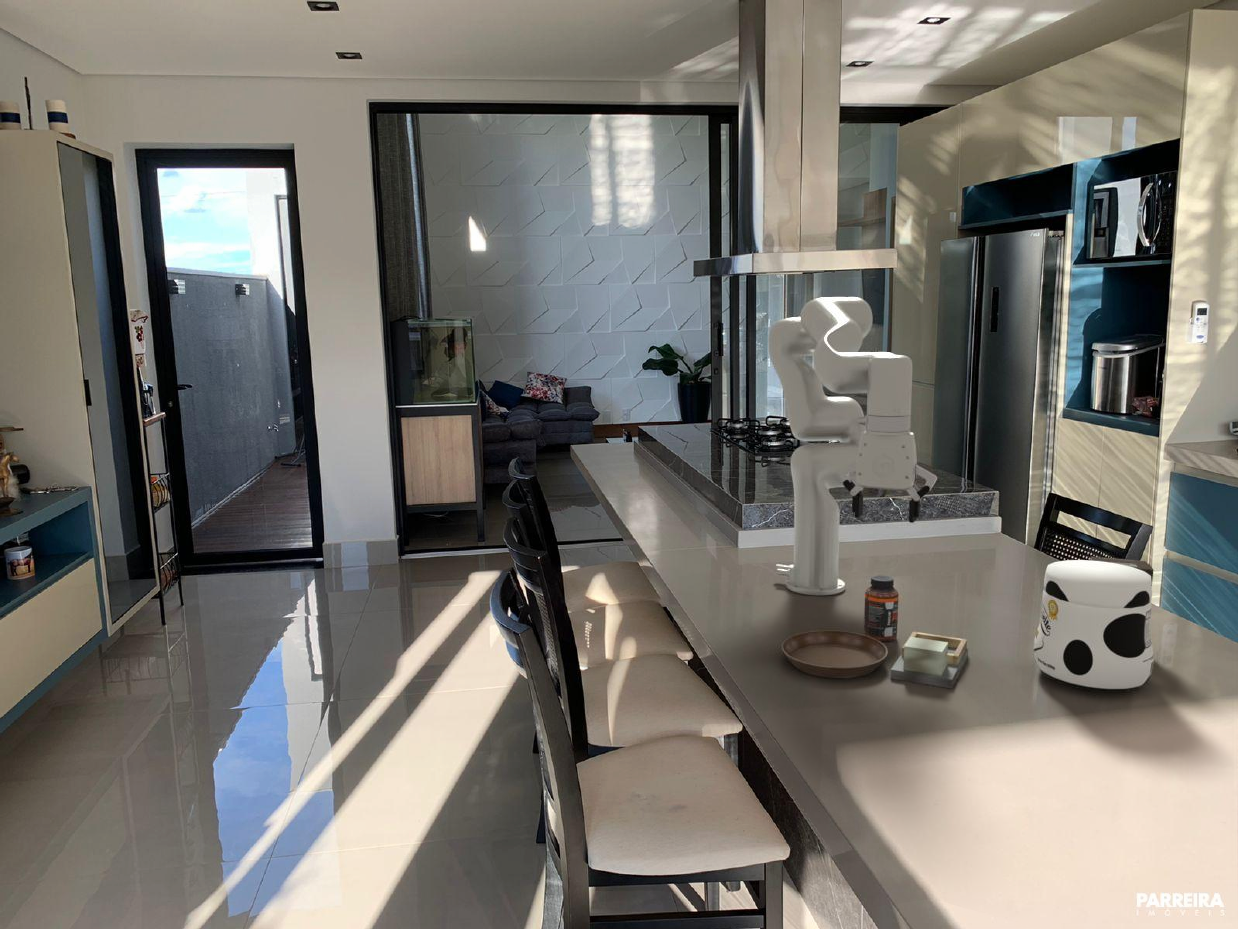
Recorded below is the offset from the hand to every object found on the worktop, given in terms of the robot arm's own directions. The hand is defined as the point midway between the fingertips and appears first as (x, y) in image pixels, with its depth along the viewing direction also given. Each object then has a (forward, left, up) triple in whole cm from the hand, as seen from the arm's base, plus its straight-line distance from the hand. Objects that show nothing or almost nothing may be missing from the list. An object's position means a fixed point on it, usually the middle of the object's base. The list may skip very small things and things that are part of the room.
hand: (885, 518), depth 170 cm
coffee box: (+38, +11, -23) cm, 45 cm away
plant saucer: (-4, -16, -23) cm, 28 cm away
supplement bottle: (0, 0, -22) cm, 23 cm away
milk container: (+35, -5, -23) cm, 42 cm away
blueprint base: (+11, -11, -22) cm, 27 cm away
